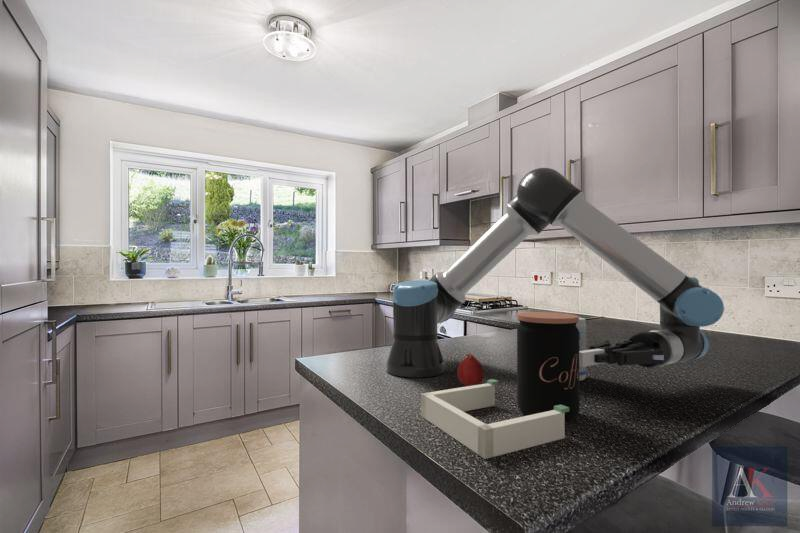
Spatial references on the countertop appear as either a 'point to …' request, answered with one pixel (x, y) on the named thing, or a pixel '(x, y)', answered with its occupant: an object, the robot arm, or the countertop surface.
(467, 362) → the onion
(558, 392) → the coffee jar
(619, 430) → the countertop surface
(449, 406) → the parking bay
